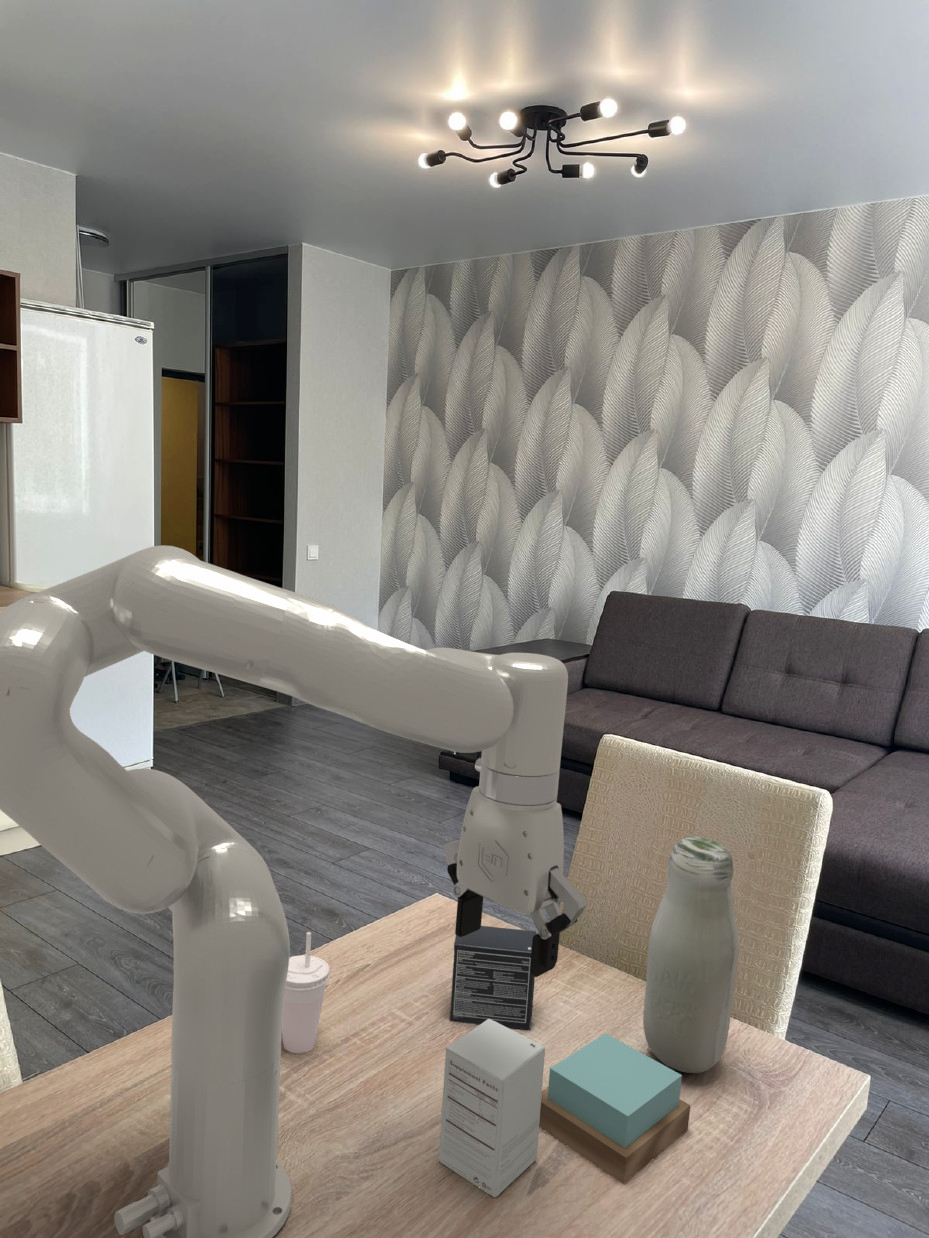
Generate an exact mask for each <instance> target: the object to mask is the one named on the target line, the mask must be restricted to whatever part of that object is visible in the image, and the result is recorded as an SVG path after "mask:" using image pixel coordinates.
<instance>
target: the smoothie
mask: <svg viewBox="0 0 929 1238" xmlns="http://www.w3.org/2000/svg"><path fill="white" fill-rule="evenodd" d="M305 935H306V936H305V937H306V938H305V955H304V954H302V955H293V956H289V967H288V973H287V979H286V986H285V992H284V1001H283V1013H282V1031H281V1035H282V1041H283V1048H284V1049H285V1051H287V1052H289V1053H292V1054H305V1053H308V1052H310V1051H311V1050H313V1049H314V1047H315V1046H316V1040H317V1033H318V1029H319V1023H320V1018H321V1011H322V1007H323V1006H322V1005H323V1001H324V996H325V989H326V986H327V985H326V984H327V983H328V981H329V979H330V976H331V974H330V966H329V964H328V962H326V961H325V960H324V959H323V958H320V957H317V956H313V955H311V946H312V943H311V942H312V932H310V931H308V932H306V933H305Z"/></svg>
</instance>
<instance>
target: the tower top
mask: <svg viewBox="0 0 929 1238" xmlns="http://www.w3.org/2000/svg"><path fill="white" fill-rule="evenodd" d="M548 1075H549V1077H548V1086H547V1087H548V1099H550V1100H551V1101H553V1102H554V1103H556V1104H557V1105H559V1106H560V1107H562V1108H563V1109H565V1110H567V1111H568V1112H570V1113H571V1114H573V1115H574V1116H576V1117H577V1118H579V1119H580V1120H582V1121H584V1122H585V1123H587V1124H588V1125H590V1126H591V1127H593V1128H594V1129H596V1130H597V1131H599V1132H600V1133H602V1134H604V1135H605V1136H607V1137H608V1138H610V1139H611V1140H613V1141H614V1142H616V1143H617V1144H619V1145H621V1146H622V1147H624V1148H626V1147H627V1146H629V1145H630V1144H631V1143H632V1142H634V1141H635V1140H636V1139H637V1138H639V1137H640V1136H641V1135H642V1134H644V1133H645V1132H646V1131H647V1130H649V1129H650V1128H651V1127H652V1126H654V1125H655V1124H656V1123H657V1122H659V1121H660V1120H661V1119H662V1118H664V1117H665V1116H666V1115H667V1114H669V1113H670V1112H671V1111H672V1110H674V1109H675V1108H676V1107H677V1106H679V1099H681V1098H680V1096H681V1088H682V1087H681V1086H682V1078H683V1075H682V1074H681V1073H679V1072H676V1070H674V1069H672V1068H671V1067H669V1066H667V1065H665V1064H663V1063H660V1062H658V1061H657V1060H655V1059H654V1058H652V1057H650V1056H647V1055H646V1054H644V1053H643V1052H640V1051H639V1050H637V1049H635V1048H633V1047H632V1046H630V1045H629V1044H628V1045H627V1044H626V1043H624V1042H623V1041H621V1040H619V1039H617V1038H615V1037H614V1036H612V1035H610V1034H608V1033H607V1032H605V1033H603V1034H602V1035H600V1036H599V1037H597V1038H595V1039H594V1040H591V1042H589V1043H588V1044H586V1045H585V1046H583V1047H581V1048H579V1049H578V1050H577V1051H575V1052H573V1053H572V1054H571V1055H569V1056H567V1057H566V1058H564V1059H562V1060H560V1061H559V1062H558V1063H555V1064H554V1065H553V1066H551V1067H550V1068H549V1074H548Z"/></svg>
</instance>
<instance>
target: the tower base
mask: <svg viewBox="0 0 929 1238" xmlns="http://www.w3.org/2000/svg"><path fill="white" fill-rule="evenodd" d="M690 1113H691V1104H689V1103H687V1102H686V1101H684V1100H682V1099H681V1098H680V1099H679V1106H677V1107H676V1108H675V1109H674V1110H672V1111H671V1112H670V1113H669V1114H667V1115H666V1116H665V1117H664V1118H662V1119H661V1120H660V1121H659V1122H657V1123H656V1124H655V1125H654V1126H652V1127H651V1128H650V1129H649V1130H647V1131H646V1132H645V1133H644V1134H642V1135H641V1136H640V1137H639V1138H637V1139H636V1140H635V1141H634V1142H632V1143H631V1144H630V1145H629V1146H627V1147H626V1148H624V1147H622V1146H621V1145H619V1144H617V1143H616V1142H614V1141H613V1140H611V1139H610V1138H608V1137H607V1136H605V1135H604V1134H602V1133H600V1132H599V1131H597V1130H596V1129H594V1128H593V1127H591V1126H590V1125H588V1124H587V1123H585V1122H584V1121H582V1120H580V1119H579V1118H577V1117H576V1116H574V1115H573V1114H571V1113H570V1112H568V1111H567V1110H565V1109H563V1108H562V1107H560V1106H559V1105H557V1104H556V1103H554V1102H553V1101H551V1100H550V1099H548V1086H547V1087H545V1089H542V1096H541V1108H540V1121H539V1129H540V1128H541V1129H542V1130H543V1131H545V1132H546V1133H548V1134H549V1135H550V1136H552V1137H554V1138H555V1139H556V1140H558V1141H559V1142H561V1143H563V1144H564V1145H566V1146H567V1147H569V1149H571V1150H572V1151H574V1152H575V1153H577V1154H579V1155H580V1156H581V1157H583V1158H584V1159H586V1160H587V1161H589V1162H590V1163H591V1164H593V1165H594V1166H596V1167H598V1168H599V1169H600V1170H601V1171H603V1172H605V1173H606V1174H607V1175H609V1176H611V1177H613V1179H615V1180H616V1181H618V1182H620V1183H621V1184H622V1185H624V1184H626V1183H627V1182H628V1181H629V1180H630V1179H632V1178H633V1177H635V1175H636V1174H637V1173H639V1172H640V1171H641V1170H642V1169H644V1168H645V1166H647V1165H648V1164H649V1163H651V1162H652V1161H653V1160H654V1159H655V1158H657V1157H658V1156H659V1155H660V1154H662V1153H663V1151H664V1150H666V1149H667V1148H668V1147H669V1146H670V1145H672V1144H673V1143H674V1142H676V1141H677V1140H678V1139H679V1138H680V1137H681V1136H683V1135H684V1134H685V1133H686V1132H688V1129H689V1122H690Z"/></svg>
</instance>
